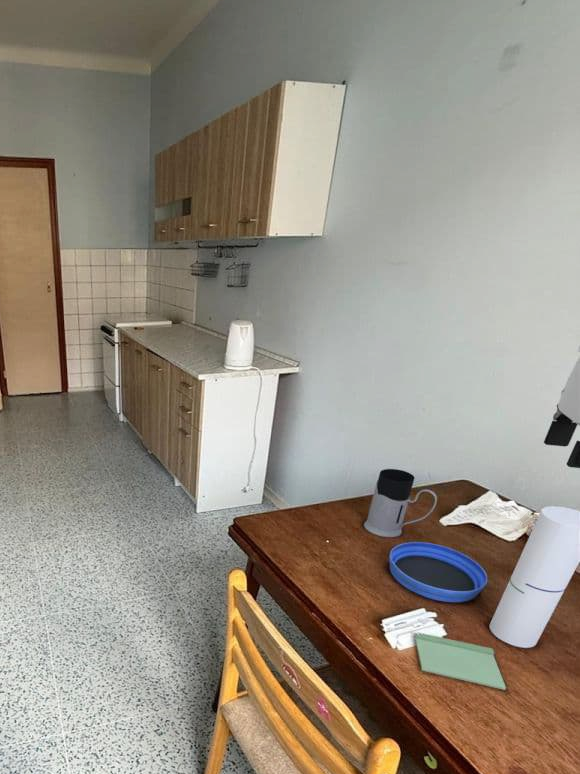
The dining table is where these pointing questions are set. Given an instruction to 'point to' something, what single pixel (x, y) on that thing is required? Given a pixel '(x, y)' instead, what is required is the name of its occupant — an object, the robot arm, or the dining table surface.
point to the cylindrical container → (539, 577)
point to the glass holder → (391, 503)
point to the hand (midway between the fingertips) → (566, 455)
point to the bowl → (437, 572)
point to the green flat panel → (458, 660)
